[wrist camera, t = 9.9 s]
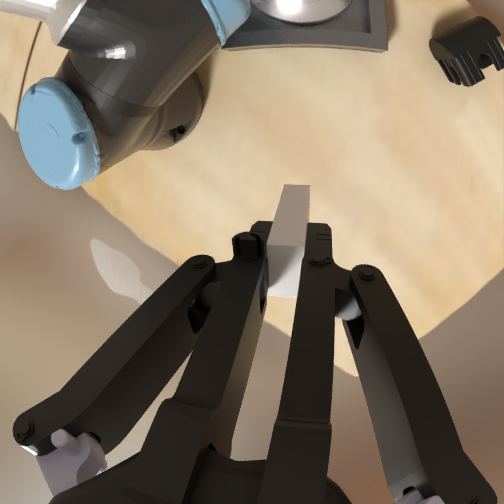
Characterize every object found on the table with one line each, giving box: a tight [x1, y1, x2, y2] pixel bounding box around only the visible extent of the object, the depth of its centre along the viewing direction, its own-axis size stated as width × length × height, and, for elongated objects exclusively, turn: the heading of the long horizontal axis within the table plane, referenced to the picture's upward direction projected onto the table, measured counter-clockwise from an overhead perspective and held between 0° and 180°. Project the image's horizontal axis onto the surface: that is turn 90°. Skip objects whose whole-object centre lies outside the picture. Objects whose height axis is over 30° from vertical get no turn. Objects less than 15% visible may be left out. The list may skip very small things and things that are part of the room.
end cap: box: [429, 16, 504, 87], centre depth 21 cm, size 10×7×7 cm
